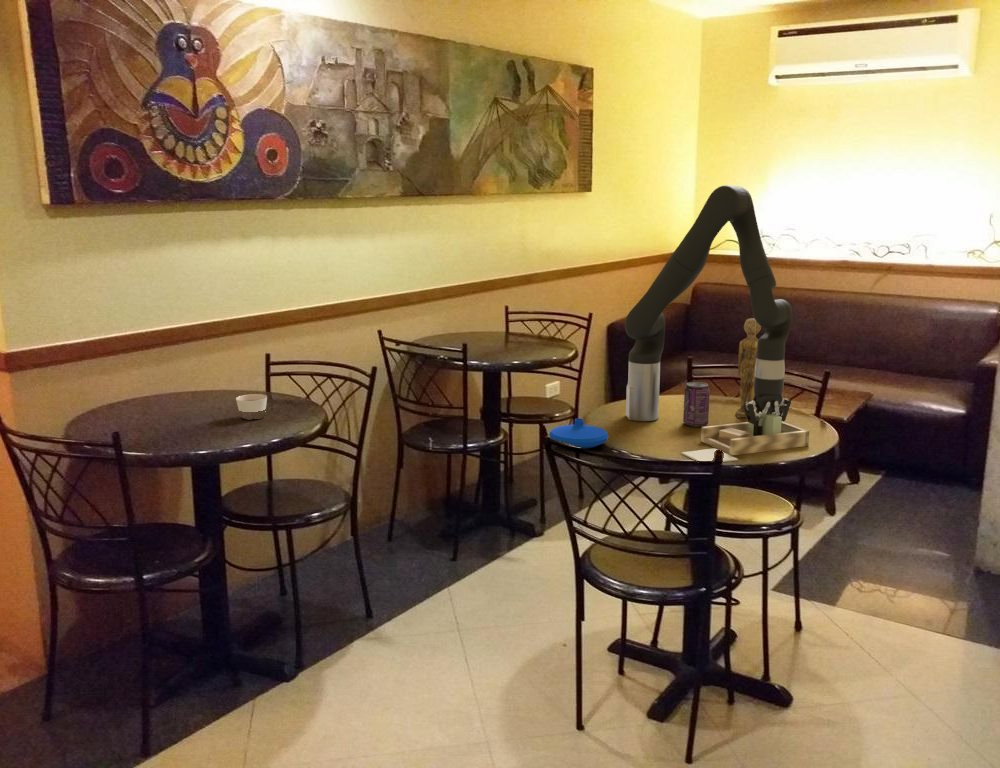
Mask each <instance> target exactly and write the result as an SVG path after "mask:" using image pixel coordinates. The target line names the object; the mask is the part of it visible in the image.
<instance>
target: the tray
mask: <svg viewBox="0 0 1000 768" xmlns="http://www.w3.org/2000/svg"><path fill="white" fill-rule="evenodd" d="M728 428H733V429H737V430H741V431H745V432H748V433H751V423H749V422H747V421H744V422H736V423H735V422H734V423H733V422H732V423H726V424H725V423H723V424H717V425H716V424H715V425H705V426H701V433H700V434H701V435H700V442H702V443H704V444H705V445H708V446H711V447H713V448H715V449H717V450H720V451H721V450H723V451H722V452H724V453H726V454H728V455H731V456H738V455H746V454H747V455H748V454H753V453H754V454H755V453H761V452H770V451H771V452H772V451H778V450H784V449H785V450H786V449H792V448H794V449H795V448H801V447H809V443H810V442H809V441H810V430H807V429H804V428H802V427H799V426H796V425H794V424H791V423H787V422H786V421H782V423H781V433H777V434H769V435H760V436H752V437H743V438H735V439H730V446H728V445H725V444H723V443H721V442H719V441H718V437H719V430H723V429H728Z"/></svg>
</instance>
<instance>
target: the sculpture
mask: <svg viewBox="0 0 1000 768" xmlns="http://www.w3.org/2000/svg"><path fill="white" fill-rule="evenodd" d="M761 329H762V326H760V325H759V324H758V323H757V322H756V320H755V318H754V317H753V318H752V317H750V318H747V319H746V320H745V322H744V324H743V330H744V332H745V333H746V335H747V336H746V338H743V339H741V340H740V342H739V344H738V362H737V363H738V369H737V376H738V377H739V379H740V386H739V396H740V397H739V398H740V406H739V407H740V408H738V409H737V410H736V411H735V417H736V418H737V419H738V418H746V419H747V417H746V413H745V408H744V403H745V402H748V403H749V402H751V401H753V398H754V396H755V393H754V376H755V364H756V359H757V344H758V340H759V338H758V337H757V335H758V333H760V331H761Z"/></svg>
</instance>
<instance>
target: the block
mask: <svg viewBox="0 0 1000 768" xmlns="http://www.w3.org/2000/svg"><path fill="white" fill-rule="evenodd" d="M754 412H755V409H754ZM760 414H761V412H760ZM758 420H759V419H758ZM781 423H782V417H780V416H777V415H775V414H772V413H767V414H766V417H765V418H764V420H763V423H762V425H761V426H762V435H769V434H777V433H781ZM753 429H754V425H753V424H751V437H752V436H753Z"/></svg>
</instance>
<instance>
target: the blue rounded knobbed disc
mask: <svg viewBox="0 0 1000 768" xmlns="http://www.w3.org/2000/svg"><path fill="white" fill-rule="evenodd" d="M548 435H549V438H551V439H553V440H556V441H561V442H565V443H570V444H573V445H575V446H579V447H582V448H583V449H591V448H596V447H598V446H600V445H602V444H604V443H606V442H607V441H608V438H609V433H608V432H607V431H606V430H605V429H604V428H602V427H599V426H596V425H590V424H584V419H583V418H575V419H574V424H566V425H565V424H564V425H560V426H556V427H554V428H552V429H551V430H550V432H549V434H548ZM551 439H550V440H551Z"/></svg>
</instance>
